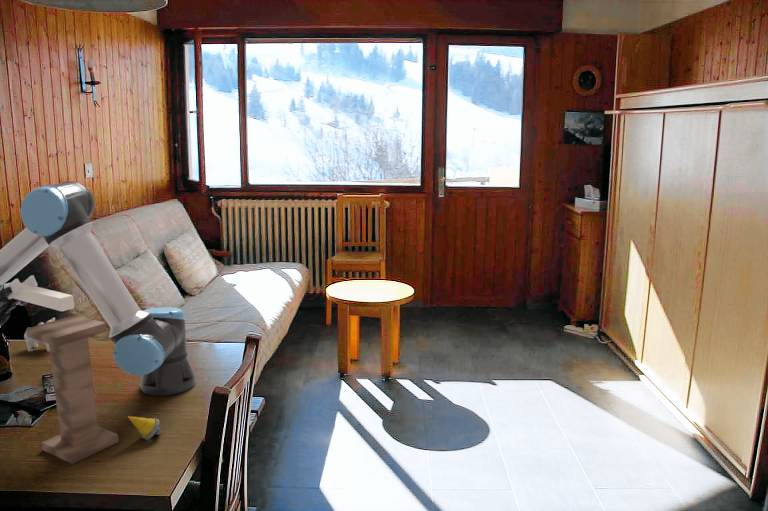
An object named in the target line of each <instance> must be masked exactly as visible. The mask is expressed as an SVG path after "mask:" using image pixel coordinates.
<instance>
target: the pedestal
mask: <svg viewBox="0 0 768 511" xmlns="http://www.w3.org/2000/svg"><path fill="white" fill-rule="evenodd" d="M107 328H108V327H107V322H103V321H100V320H96V319H92V318H88V317H85V316H82V315H77V314H75V315H70V316H67V317H63V318H59V319H55V321H52V322H48V323H46V322H45V323H44V324H41V325H38V324H37V325H35V326H31V327H27V328H26V330H27V337H29V338H32V339H35V340H38V341H37V342H39V341H41V342H40V343H43V342H44V343H48V344H49V350H50V351H49V356H50V364H51V366H50V367H51V371H52V381H53V387H54V388H53V389H54V396H55V403H56V411H57V419H58V426H59V427H58V428H59V434H57V435H55V436H53V437H50V438H49V439H46V440H43V441H42V442H41V447H42V451H44V452H46V453H49V454H51V455H52V456H54V457H56V458H59V459H61V460H63V461H65V462H67V463H70V464H72V465H74V464H75V463H77V462H79V461H82V460H84V459H86V458H88V457H90V456H93V455H94V454H96V453H98V452H100V451H103V450H105V449H106V448H109V447H111V446H114V445H116V444H117V443H119V442H120V440H119V434H118V433H115V432H113V431H111V430H108V429H107V428H103V427H102V426H99V424H98V422H99V421H98V412H97V407H96V406H97V405H96V397H95V395H96V394H95V389H94V388H95V386H94V380H93V372H92V369H93V368H92V363H91V355H90V354H91V353H90V344H89V343H90V342H89V338H90V337H93V336H96V335H99V334H103V333H105V332H108V329H107ZM26 330H25V331H26ZM44 343H43V344H44Z"/></svg>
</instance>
